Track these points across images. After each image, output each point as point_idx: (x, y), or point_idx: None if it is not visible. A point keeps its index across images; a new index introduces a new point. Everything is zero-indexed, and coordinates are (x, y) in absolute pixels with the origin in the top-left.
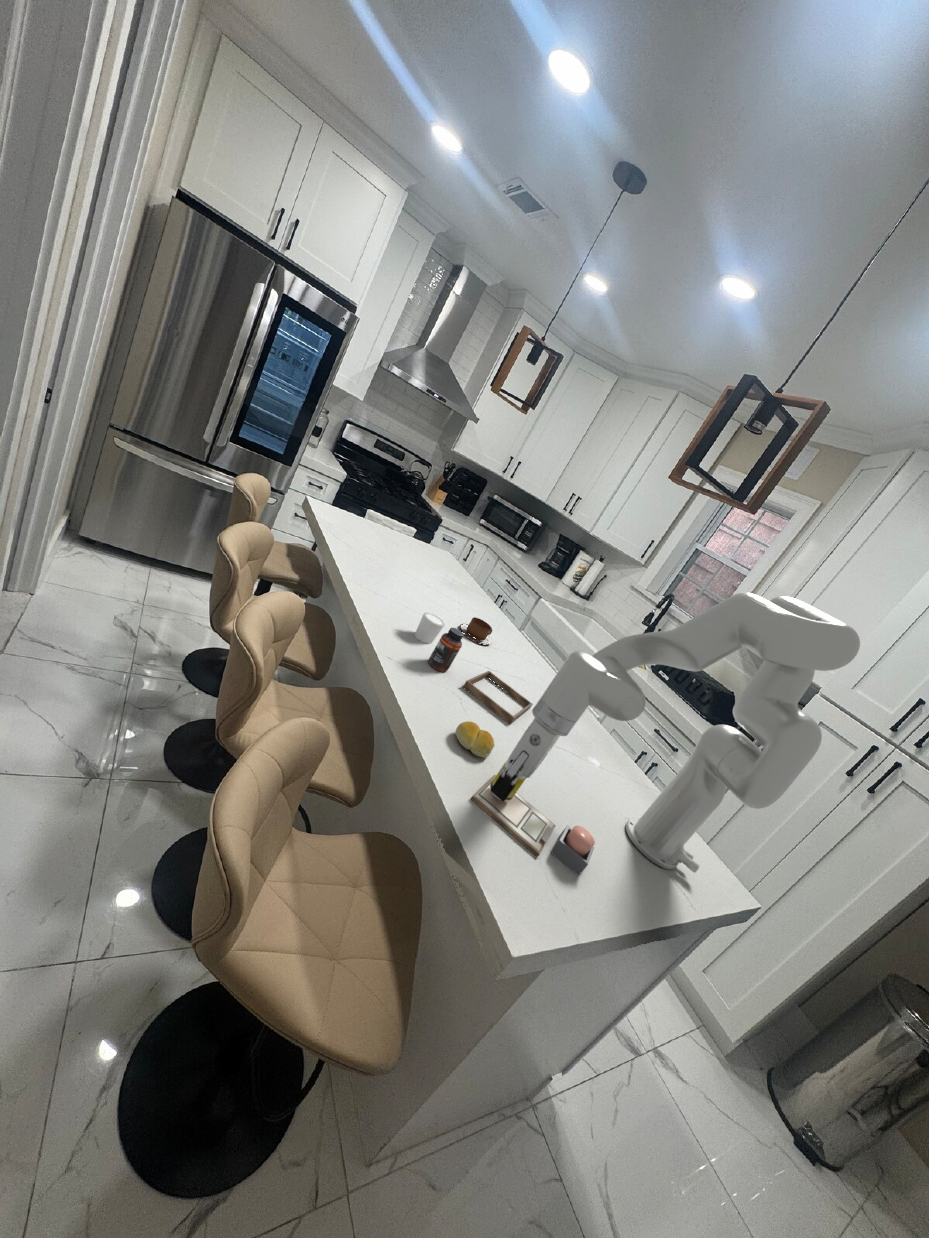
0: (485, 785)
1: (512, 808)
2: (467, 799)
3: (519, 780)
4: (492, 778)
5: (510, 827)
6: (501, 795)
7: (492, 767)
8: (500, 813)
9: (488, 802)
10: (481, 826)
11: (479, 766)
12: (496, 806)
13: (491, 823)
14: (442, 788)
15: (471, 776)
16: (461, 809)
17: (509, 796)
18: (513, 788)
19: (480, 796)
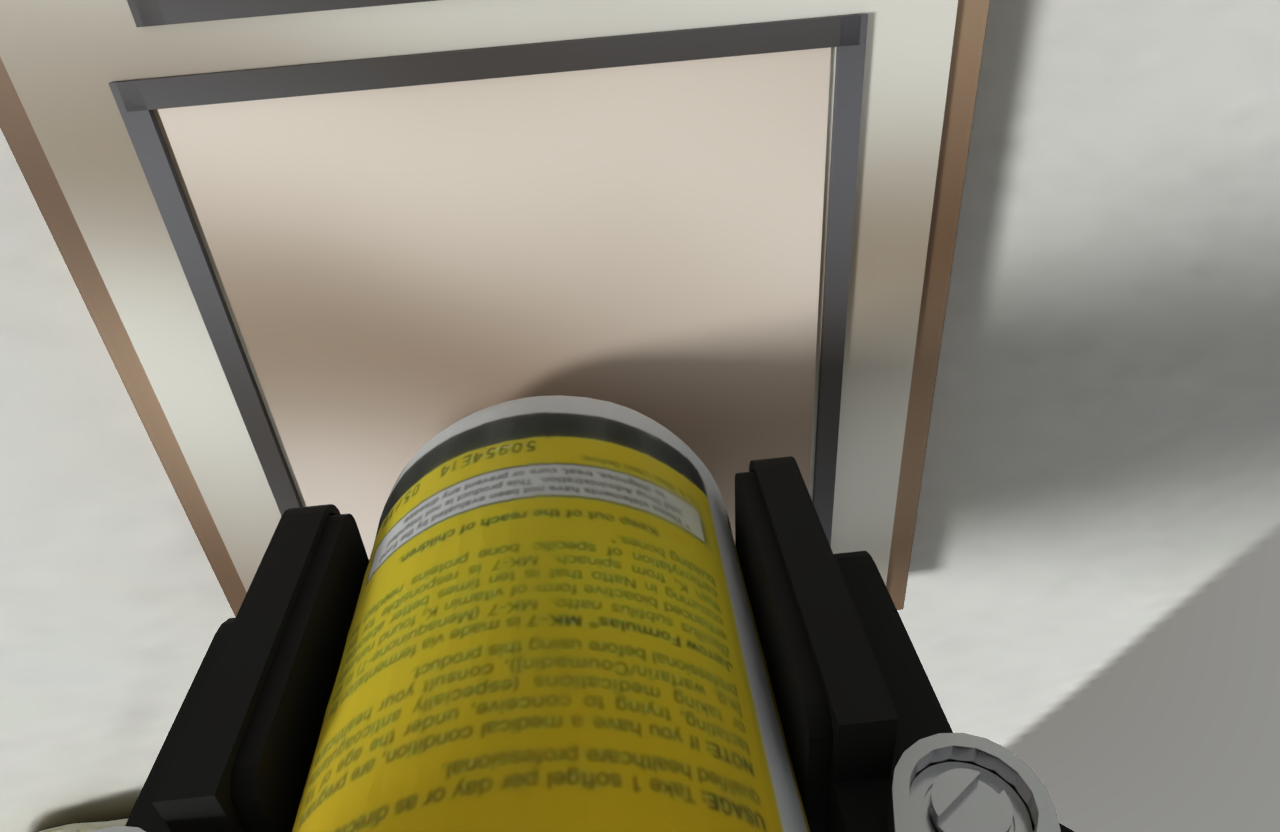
0: None
1: (545, 277)
2: (921, 582)
3: (745, 815)
4: None
5: (950, 92)
6: (870, 558)
7: (138, 710)
8: (847, 323)
9: (833, 493)
10: (1174, 324)
11: None
12: (780, 413)
13: (1015, 284)
14: (1015, 721)
15: None
16: (1115, 541)
17: (663, 477)
18: (707, 616)
19: None
